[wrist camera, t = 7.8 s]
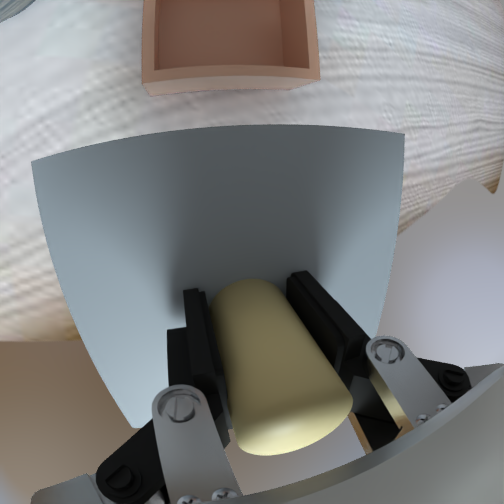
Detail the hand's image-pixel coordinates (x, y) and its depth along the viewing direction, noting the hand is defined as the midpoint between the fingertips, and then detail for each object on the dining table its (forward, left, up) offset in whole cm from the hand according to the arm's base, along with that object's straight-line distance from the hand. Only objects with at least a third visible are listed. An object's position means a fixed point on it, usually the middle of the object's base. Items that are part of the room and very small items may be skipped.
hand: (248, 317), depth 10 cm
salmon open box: (-2, -16, -16) cm, 23 cm away
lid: (0, 0, -1) cm, 1 cm away
